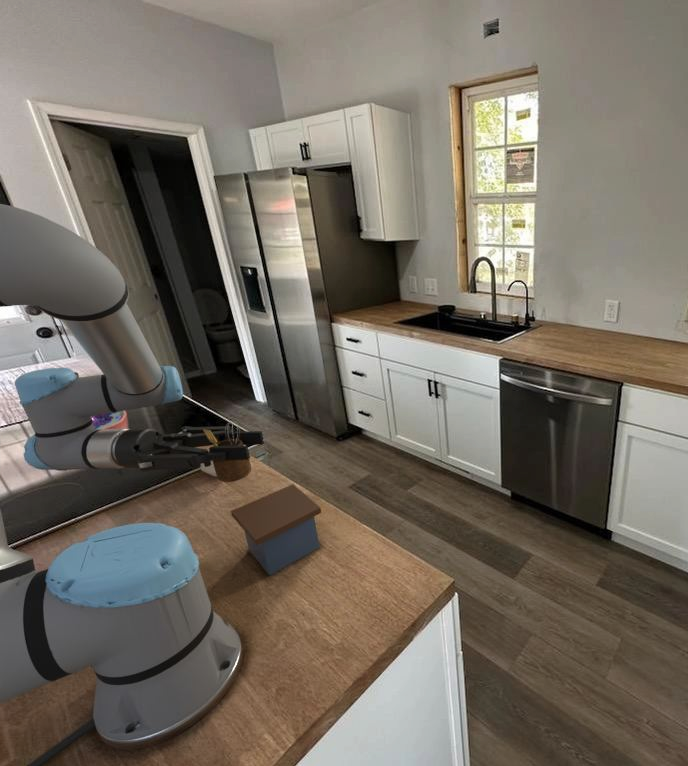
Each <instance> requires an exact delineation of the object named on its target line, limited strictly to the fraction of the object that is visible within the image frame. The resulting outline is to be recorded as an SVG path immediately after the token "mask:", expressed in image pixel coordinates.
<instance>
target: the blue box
mask: <svg viewBox="0 0 688 766" xmlns="http://www.w3.org/2000/svg"><path fill="white" fill-rule="evenodd" d="M230 513H231V517H232V518H233V519H234V521H236V523H237V524H238V526H240V527H241V529H242V530H243V531H244V535H245V538H246V542H247V546H248V549H249V550H248V551H249V552H250V553H251V555H252V556H253V557H254V558H255V560H256V561H257V562H258V563H259V564H260V566H261V567H262V568H263V570H265V572H266V573H267V575H269V576H272V575H274V574H275V573H277V572H279V571H280V570H282V569H284V568H286V567H287V566H289V565H292V564H294V562H297V561H298V560H300V559H301V558H304V557H305V556H307V555H309V554H311V553H312V552H314V551H316V550H318V549H320V547H321V546H320V540H319V535H318V530H317V524H316V520H315V519H316V518H315V517H316V516H318V515H320V514H322V508H321V507H320V506H319V505H318V503H316V502H314V500H313V499H311V498H310V497H309V496H308V495H306V494H305V493H304V492H303V491H302V490H301V489H300V488H298V487H297V486H296V485H295V484H294V483H292V484H289V485H288V486H285V487H284V488H281V489H278V490H276V491H274V492H271V493H270V494H267V495H265V496H263V497H260V498H258V499H256V500H253V501H250V502H248V503H246V504H244V505H242V506H239V507H237V508H234V509H232V510H231V511H230Z"/></svg>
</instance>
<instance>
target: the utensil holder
mask: <svg viewBox="0 0 688 766" xmlns="http://www.w3.org/2000/svg"><path fill="white" fill-rule="evenodd" d="M230 424H231V425H232V426H231V428H232V432H234V425H233V424H235V426H236V430H237V431H236V432H239V431H241V430H240V427H239V426H238V422H236V421H229V424H226V425H225V426H230ZM203 431H204V433H205V434H206V436H207V438H208V439H209V441H210V442H212V443H213V444H214V446H244V444H243V442H242V441H241V440H240V439H239V438H238V437H237V439H234V438H233V439H230V438H229V437H228V438H229V439H228V438H227V440H223V441H220V442H218V443H217V440H216V438H215V437H214V435H213V434H212V432H211V431H210V430H209V432H210V433H209V432H208V430H206V431H205V430H204V429H203ZM207 433H208V434H207ZM228 436H229V434H228ZM237 436H238V434H237ZM239 436H240V435H239ZM226 437H227V436H226ZM213 465H214V468H215V472H216V475H217V479H218V480H219V481H220V482H223V483H232V482H238V481H240V480H242V479H244V478H246V477H248V476H249V475H250V473H251V472H252V465H251V460H250V458H249V459H248V460H223V461H213Z"/></svg>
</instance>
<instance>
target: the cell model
mask: <svg viewBox="0 0 688 766" xmlns="http://www.w3.org/2000/svg"><path fill="white" fill-rule="evenodd" d="M91 418H92V421H93V425H94V428H95V429H101V430H102V429H130V428H129V425H130V424H129V418H128V414H127V410H125V411H119V412H113V413H108V414H102V415H96V416H91Z"/></svg>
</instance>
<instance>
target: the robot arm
mask: <svg viewBox="0 0 688 766" xmlns="http://www.w3.org/2000/svg"><path fill="white" fill-rule="evenodd" d="M129 296H130V292H129V288H128V285H127V283H126V281H125V279H124V276H123V275H122V274H121V272H120V270H119V269H118V268H117V266H116V265H115V264H114V263H113V262H112V260H111V259H110V258H109V257H107V255H105V254H104V253H103V252H102V251H101V250H99V249H98V248H97V247H96V246H95V245H93V244H92V243H90V241H88V240H86V238H83V237H82V236H80V235H78V234H77V233H76V232H74V231H72V230H71V229H69V228H67V227H65V226H63V225H61V224H59V223H57V222H55V221H53V220H51V219H48V218H47V217H45V216H42V215H40V214H37V213H36V212H35V213H34V212H31V211H29V210H26V209H23V208H19V207H15V206H13V205H8V204H3V203H0V308H2V307H3V308H4V307H13V306H31V307H37V308H38V309H39V310H40V311H41V312H43V313H44V314H46V315H48V316H49V317H51V318H54V319H56V320H59V321H61V322H62V324H63V325H64V326H65V328H66V329H67V330H68V331H69V332H70V334H71V335H72V336H73V337H74V339H75V340H76V341H77V342H78V344H79V345H80V347H82V349H83V350H84V351H85V353H87V355H88V356H89V358H90V359H91V360H92V361H93V363H95V365H96V367H98V369H99V370H100V371H101V373H102V374H97V375H89V376H79V378H77V375H75V373H74V372H75V371H74V370H73V369H71V368H68V367H49V368H41V369H37V370H32V371H29V372H26V373H23V374H21V375H20V376H18V377H17V378H16V379H15V380H14V386H15V390H16V393H17V395H18V398H19V404H20V405H21V406H22V408H23V411H24V413H25V415H26V417H27V419H28V421H29V423H30V426H31V428H32V430H33V432H34V433H33V434H32V435H31V436H30V437H29V438H28V439H27V440H26V441H25V443H24V445H23V448H24V453H22V454H23V459H24V460H25V462H26V463H27V464H28V465H29V466H30V467H32V468H34V469H37V470H43V471H44V470H45V471H46V470H47V471H49V470H50V471H58V472H59V471H60V472H65V471H72V470H90V469H91V470H93V469H94V470H96V469H97V470H99V469H117V470H119V469H125V468H126V469H135V468H136V469H138V468H139V470H140V472H142V473H143V472H149V471H155V470H198V469H200V467H201V464H202V463H204V466H205V467H208V466H210V465H211V461H223V460H248V459H249V460H250V459H251V456H250V455H251V454H250V451H249V446H256V445H257V446H259V445H260V446H261V445H264V444H265V440H264V435H263V431H262V430H254V431H253V430H251V431H250V430H249V431H248V430H247V431H232V426H230V425H229V426H228V425H227V426H226V425H225V426H223V425H222V426H221V425H220V426H195V427H194V426H188V425H186V426H185V425H184V426H182V427H181V431H180V432H178V433H174V432H173V433H165V434H162V433H160V432H159V431H157V430H156V429H153V428H150V427H149V428H148V427H147V428H144V427H143V428H128V429H102V430H101V429H95V428H94V425H93V421H92V418H91V416H96V415H102V414H108V413H113V412H119V411H130V410H137V409H143V408H148V407H154V406H155V407H156V406H163V405H165V404H169V403H174V402H178V401H181V400H182V399H183V396H184V390H183V385H182V381H181V377H180V374H179V371H178V369H177V368H176V367H175V366H172V365H164V366H163V365H160V364H159V362H158V360H157V358H156V357H155V355H154V353H153V351H152V349H151V347H150V345H149V344H148V342H147V340H146V338H145V336H144V333H143V332H142V330H141V328H140V326H139V324H138V323H137V321H136V319H135V317H134V315H133V313H132V311H131V309H130V307H129V305H128V304H127V303H128V300H129ZM203 429H204V430H205V431H206V430H208V432H209V430H210V431H211V432H212V434H213V435H214V437H215V438H216V440H217V443H218V442H220V441H223V440H227V438H228V437H229V438H230V439H233V438H234V439H237V437H238V438H239V439H240V440H241V441H242V442H243V444H244V445H245V446H211V447H210V448H209V451H208V450H207V449H201V448H195V447H203V446H210V445H214V444H213V443H212V442H210V441H209V439H208V438H207V436H206V434H205V433H204V431H203ZM209 433H210V432H209ZM207 434H208V433H207ZM228 434H229V436H228ZM237 434H238V436H237ZM239 435H240V436H239ZM226 436H227V437H226ZM229 438H228V439H229ZM202 575H203V574H202V573H201V569H200V560H199V556H198V555H197V554H196V552H195V551H194V549H193V547H192V544H191V542H190V540H189V538H188V537H187V535H186V534H185V532H183V531H182V530H180V529H179V528H177V527H174V526H172V525H166V524H163V523H158V522H139V523H137V522H136V523H131V524H130V523H129V524H126V525H120V526H116V527H112V528H108V529H105V530H102V531H99V532H97V533H94V534H91V535H89V536H87V537H86V538H85V541H82V542H75V543H73V544H72V545H70V546H69V547H67V548H65V549H64V550H63V551H62V552H60V553H59V554H58V555H57V556H56V557H55V558H54V559H53V560H52V562H51V563H50V564H49V566H48V568H46V569H43V570H40V571H36V566H35V561H34V558H33V556H32V555H31V554H29V553H25V552H23V551H19V550H15V549H13V548H12V547H10V546H9V545H8V539H7V533H6V528H5V525H4V520H3V515H2V509H1V508H0V705H1V704H3V703H5V702H8V701H10V700H13V699H15V698H17V697H20V696H22V695H25V694H27V693H30V692H32V691H34V690H38V689H39V688H42V687H43V686H47V685H49V684H51V683H53V682H56V681H58V680H60V679H62V678H66V677H68V676H70V675H72V674H74V673H78V672H79V671H82V670H85V669H87V668H90V667H91V669H92V670H93V672H94V674H95V676H96V682H95V690H94V701H93V710H92V713H93V714H92V718H91V719H90V720H89V721H88V722H86V723H84V724H83V725H82V726H80V727H79V728H78V729H76V730H74V731H73V732H72V733H71V734H69V735H68V736H66V737H65V738H63V739H62V740H60V741H59V742H58V743H56V744H55V745H54V746H52V747H50V749H48V750H46V751H45V752H43V753H42V754H41V755H39V756H37V758H36V759H34V760H33V761H32V762H30V763H28V764H27V765H26V766H43V765H44V764H46V763H47V762H49V761H50V760H52V759H53V758H54V757H56V756H58V754H60V753H61V752H62V751H64V750H65V749H66V748H68V747H70V746H71V745H73V744H74V743H75V742H77V741H78V740H79V739H80V738H81V737H83V736H85V735H86V734H88V733H89V732H90V731H92V730H93V729H94V728H95V730H96V733H97V734H98V736H99V738H100V739H101V740H102V742H103V743H104V744H105V745H107V746H109V747H111V748H113V749H117V750H122V751H123V750H124V751H128V750H132V751H133V750H139V749H140V750H141V749H144V748H148V747H151V746H155V745H158V744H160V743H162V742H165V741H168V740H169V739H171V738H173V737H175V736H177V735H179V734H181V733H182V732H184V731H185V730H187V729H189V728H190V727H192V726H193V725H194V724H196V723H197V722H199V721H200V720H201V719H203V718H204V717H205V716H206V715H207V714H208V713H210V711H211V710H212V709H214V708H215V706H217V704H218V703H219V702H220V701H221V700H222V699H223V698H224V696H225V695H226V694H227V692H228V691H229V690H230V689H231V688H232V685H234V682H235V681H236V679H237V677H238V675H239V673H240V670H241V668H242V664H243V659H244V648H243V645H242V642H241V638H240V635H239V633H238V631H237V630H236V629H235V628H234V627H233V626H232V625H231V624H230V623H229V622H227V620H226V621H225V619H224V618H222V616H221V615H218V613H216V612H215V611H214V609H213V607H212V603H211V601H210V598H209V597H210V596H209V594H208V591H207V589H206V585H205V581H204V578H203V576H202Z"/></svg>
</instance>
